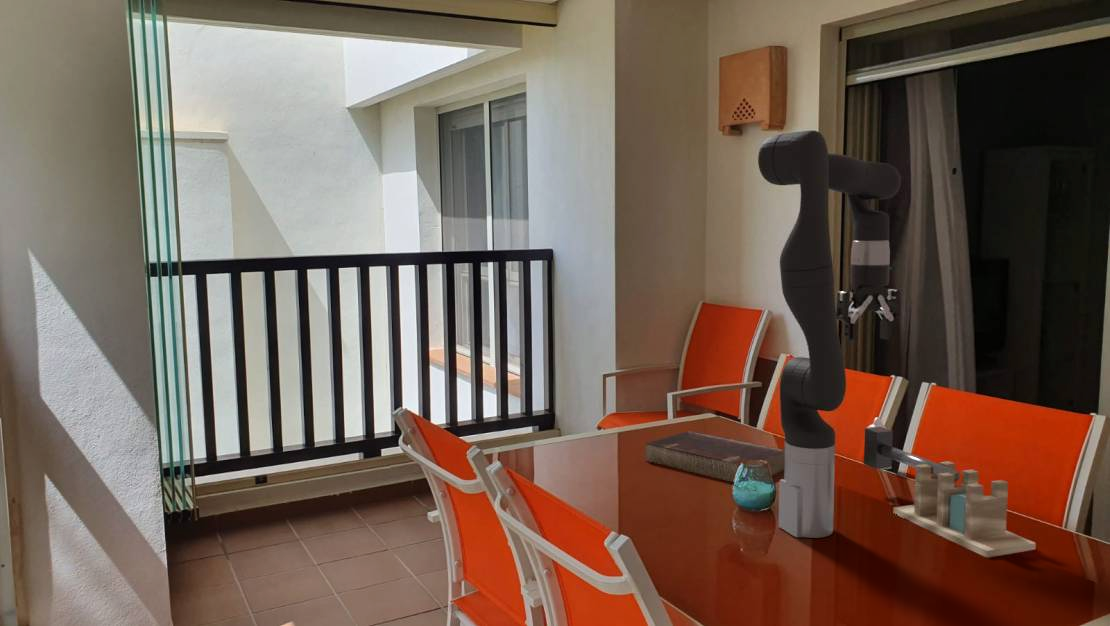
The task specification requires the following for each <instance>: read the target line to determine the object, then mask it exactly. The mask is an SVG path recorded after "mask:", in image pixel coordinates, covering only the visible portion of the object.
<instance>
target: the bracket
mask: <svg viewBox="0 0 1110 626" xmlns="http://www.w3.org/2000/svg"><path fill="white" fill-rule="evenodd" d="M938 464H940V465H943V466H945V467H948V468H951V469H953V470H955V469H956V468H955V467H956V463H955V462H952V461H950V460H949V461H948V460H947V461H941V462H939V463H938ZM961 475H962V476H961V484H955V483H954V475H953V474H950V473H941V474H938V477H937V476H935V475H932V474H931V466H929V465H927V464H922V465H916V468H915V479H914V481H915V486H914V487H915V488H914V504H910V505H902V506H895V507H893V509H892V510H893V512H892V513H893V514H894V513H895V514H894V515H896V514H897V515H896V516H898V517H900V518H902V519H904V518H905V519H904V520H906V519H907V521H908V520H909V521H908V522H910V523H912V524H915V525H917V526H919V527H921V528H923V529H926V530H928V531H929V532H932V533H934V534H936V535H938V536H940V537H942V538H944V539H946V540H948V541H951V542H952V543H955V544H956V545H959V546H961V547H963V548H965V549H967V550H970V551H971V552H974V553H976V554H978V555H980V556H982V557H984V558H993V557H999V556H1004V555H1005V556H1006V555H1012V554H1015V553H1016V554H1017V553H1023V552H1029V551H1034V550H1036V542H1035V541H1032V540H1029V539H1027V538H1025V537H1022V536H1020V535H1017V534H1016V533H1013V532H1011V531H1009V530H1007V517H1008V515H1007V514H1008V513H1007V512H1008V495H1009V492H1008V491H1009V482H1008V481H1005V480H1003V479H1000V480H999V479H998V480H991V482H990V483H991V484H990V495H985V496H984V497H983V495H984V485H982V484H979V471H977V470H974V469H965V470H962V472H961ZM962 493H966V509H965V532H964V533H962V532H960V531H958V530H955V529H953V528H951V527H949V526H950V502H951V495H955V494H962Z"/></svg>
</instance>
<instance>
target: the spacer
mask: <svg viewBox="0 0 1110 626" xmlns="http://www.w3.org/2000/svg"><path fill="white" fill-rule="evenodd" d="M984 496H986V495H985V494H983V497H984ZM965 509H966V493H962V494H955V495H951V502H950V526H949V527H951V528H953V529H955V530H958V531H960V532H962V533H964V532H965Z"/></svg>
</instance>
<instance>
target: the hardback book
mask: <svg viewBox="0 0 1110 626" xmlns="http://www.w3.org/2000/svg"><path fill="white" fill-rule="evenodd" d="M784 452H785V449H781V448H776V447H772V446H771V447H770V446H766V445H761V444H757V443H752V442H747V441H741V440H736V439H731V438H727V437H722V436H717V435H712V434H707V433H702V432H696V431H693V430H692V431H691V430H688V431H684V432H681V433H676V434H674V435H671V436H668V437H667V436H666V437H663V438H660V439H657V440H652V441H650V442H646V443H645V461H646V460H648V461H652V462H656V463H661V464H664V465H668V466H667V467H669V466H672V467H671V468H673V467H676V468H675V469H677V468H680V469H679V470H681V469H683V470H682V471H685V470H686V472H689V471H690V473H693V472H694V474H697V473H698V475H701V474H702V476H706V477H710V478H713V479H719V480H723V481H726V482H730V483H733V482H732V481H733V479H734V476H735V474H736V471H737V469H738V467H739V466H740V464H741V462H742V461H743V460H764V461H767V462H768V464H769V467H770V469H771V472H772V474H773V475H776V474H778V473H780V471H781V472H783V471H784ZM648 461H647V462H648ZM652 462H651V463H652ZM656 463H655V464H656ZM664 465H663V466H664ZM782 470H783V471H782ZM773 475H772V476H773Z"/></svg>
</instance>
